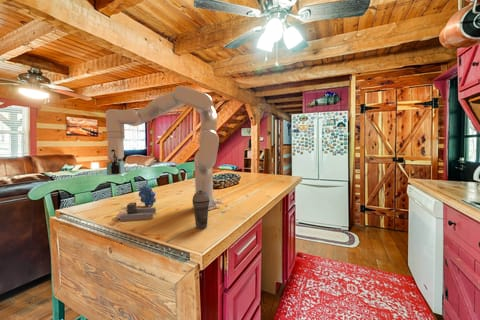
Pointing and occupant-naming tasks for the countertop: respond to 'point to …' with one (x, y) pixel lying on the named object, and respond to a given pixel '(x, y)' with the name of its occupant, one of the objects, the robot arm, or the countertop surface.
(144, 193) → the grapes
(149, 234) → the countertop surface
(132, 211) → the plunger
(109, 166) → the block
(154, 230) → the countertop surface
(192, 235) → the countertop surface
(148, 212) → the channel
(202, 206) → the beverage cup
